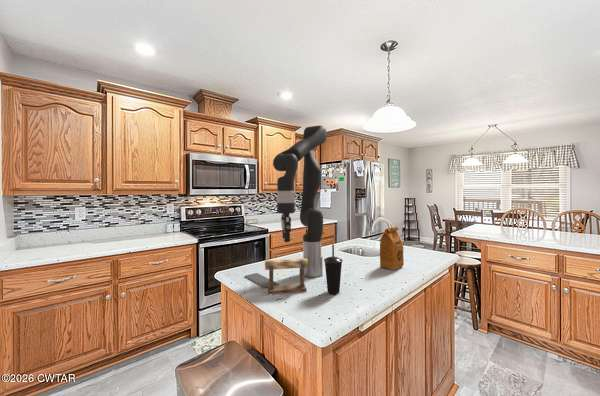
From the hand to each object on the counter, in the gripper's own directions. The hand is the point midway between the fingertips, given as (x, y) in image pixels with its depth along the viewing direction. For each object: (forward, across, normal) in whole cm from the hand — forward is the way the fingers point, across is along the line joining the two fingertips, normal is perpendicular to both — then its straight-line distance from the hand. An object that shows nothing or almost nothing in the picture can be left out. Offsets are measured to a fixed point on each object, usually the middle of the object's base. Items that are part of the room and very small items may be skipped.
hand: (286, 240), depth 107 cm
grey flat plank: (+22, +15, +11) cm, 29 cm away
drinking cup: (+22, -5, -19) cm, 29 cm away
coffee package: (+21, +22, -60) cm, 68 cm away
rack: (+22, 0, 0) cm, 22 cm away
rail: (+12, 0, 0) cm, 12 cm away
